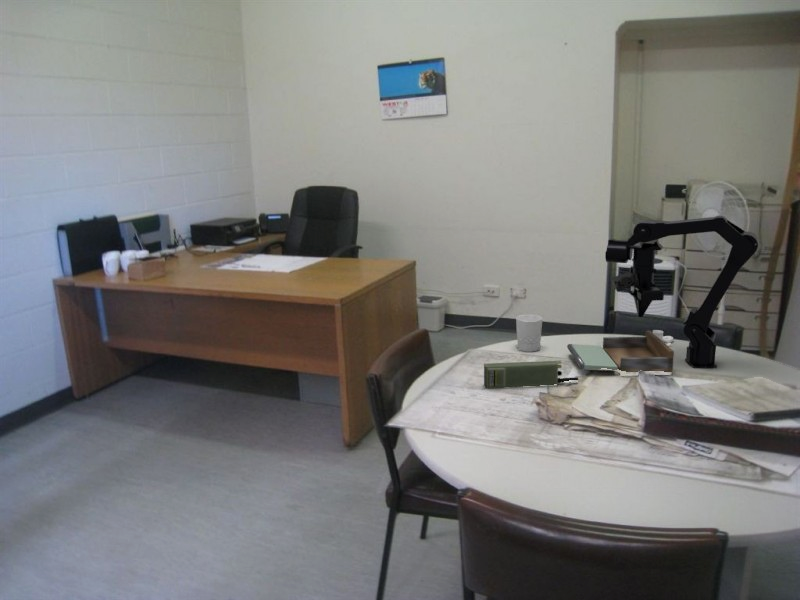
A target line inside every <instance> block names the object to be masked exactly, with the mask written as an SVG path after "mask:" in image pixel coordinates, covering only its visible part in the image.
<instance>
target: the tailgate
mask: <svg viewBox="0 0 800 600" xmlns="http://www.w3.org/2000/svg"><path fill="white" fill-rule="evenodd" d="M566 347H567V349H568V351H569V352H570V354H571V356H572V357H573V359H574V360H575V362H576V363H577V365H578V366H579V368H580V369H581V370H588V371H589V370H590V371H591V370H592V371H598V370H597V369H601V368H607V369H612V370H617V369H618V367H617V365H616V364H615V363H614V362H613V360H612V359H611V358H610V357H609V355H608V354H607V353H606V352H605V351H604V349H603V346H602V345H598V344H597V345H595V344H579V343H577V344H574V343H568V344H567V345H566Z"/></svg>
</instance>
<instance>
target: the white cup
mask: <svg viewBox="0 0 800 600" xmlns="http://www.w3.org/2000/svg"><path fill="white" fill-rule="evenodd" d="M515 321H516V323H515V324H516V340H517V349H518V350H519V351H521V352H526V353H527V352H528V353H533V352H537V351H540V349H541V341H542V331H543V330H542V327H543V317H542V316H540V315H537V314H519V315H518V316H516V318H515Z"/></svg>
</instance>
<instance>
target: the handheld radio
mask: <svg viewBox="0 0 800 600" xmlns="http://www.w3.org/2000/svg"><path fill="white" fill-rule="evenodd" d="M562 363H563V362H562V361H561V360H546V361H545V360H543V361H542V360H541V361H540V360H539V361H520V362H519V361H518V362H493V363H492V362H491V363H484V364H483V386H485V387H484V388H485V389H497V388H496V387H509V388H524V387H523V386H536V387H541V386H540V385H554V384H557V385H558V384H561V383H563V382H564V381H569V380H578V381H579V377H562V378H560V377H558V376H562V375H563V372H562V370H559V369H562V365H561V364H562Z"/></svg>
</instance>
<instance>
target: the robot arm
mask: <svg viewBox="0 0 800 600" xmlns="http://www.w3.org/2000/svg"><path fill="white" fill-rule="evenodd" d="M712 232H713V233H716V234H718V235H719V236H720V237H721V238H722V239H723V240H725V242H726V243H728V244H729V245H730V246H731V248H730V252H729V254H728V257H727V260H726V263H725V264H724V266H723V268H722V270H721V271H720V273H719V274H718V276H717V278H716V279H715V281H714V283H713V284H712V286H711V288H710V289H709V291H708V293H707V295H706V297H705V298H704V300H703V301H702V303H701V304H700V305H699V307H697V308H696V307H694V306H692V307H691V309H690V311H689V313H688V315H687V316H686V317H685V319H684V321H683V323H682V324H683V325H684V326H683V332H684V333H683V334H684V335H685V337H686V338H688V339H689V341H688V346H687V347H686V354H685V358H684V360H685V361H686V363H688V364H689V365H690V366H691V367H692V368H696V369H697V368H699V369H700V368H717V367H718V365H717V364H716V363H715V361H716V353H717V344H716V343H714V342H715V339H716V335H717V334H716V332H715V331H714V330H713V329H712V328H711V327H710V323H711V320H712V318H713V316H714V313H715V310H716V309H717V307H718V306H719V303H721V301H722V300H723V297H724V296H725V294H726V293H727V291H728V289H729V287H731V284H732V283H733V280H735V277H736V276H737V274H738V272H739V271H740V270H741V268H742V267H743V266H744V265H745V264H747V262H748V261H749V260H750V259H751V258H752V257H753V255H754V254H755V253H756V252H757V250H758V248H759V245H760V241H759V237H758V235H757V234H756V233H754V232H752V231H745V229H742V228H741V227H740V226H738V225H736V224H735V223H734V222H732V221H730V220H729V219H728V218H727V217H725V216H724V215H715V216H709V217H701V218H700V217H699V218H692V219H691V218H690V219H683V220H672V221H667V220H660V219H644V220H641V221H640V222H639V223H637V224H636V225H635V226H634V228H633V233H632V235H631V236H630V237H628V238H627V240H626V239H615V238H609V239H608V240H607V241H608V242H607V246H606V251H605V262H607V263H614V264H615V263H617V264H627V263H628V262H629V261H631V260H632V265H631V266H630V267H629V270H628V272H625V273H624V272H623V273H621V274H618V275H615V276H613V277H611V279H610V280H611V283H612V286H613V289H615V290H616V291H617V292H620V291H624V290H625V289H628V288H630V290H628V291H627V292H628V293H629V295H630V296H631V297H632V298H633V299H634V300H633V301H634V304H635V309H636V314H637V317H639V318H643V316H644V315H645V314H646V311H647V310H648V309H649V306H650V305H651V304H652V302H653V301H655V302H656V301H664V299H665V298H664V296H665V293H664V292H663V291H662V290H661V289H660V288H658V287H656V282H654V277H655V275H654V274H656V273H657V269H656V268H655V258H656V251H662V249H664V246H663V245H662V244H661V243H660V242H659V240H660V239H663V238H667V237H670V236H671V237H672V236H680V235H692V234H703V233H712ZM655 240H656V241H655ZM653 241H654V242H653ZM651 242H653V243H651ZM639 243H642V244H641V245H638V244H639Z"/></svg>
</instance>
